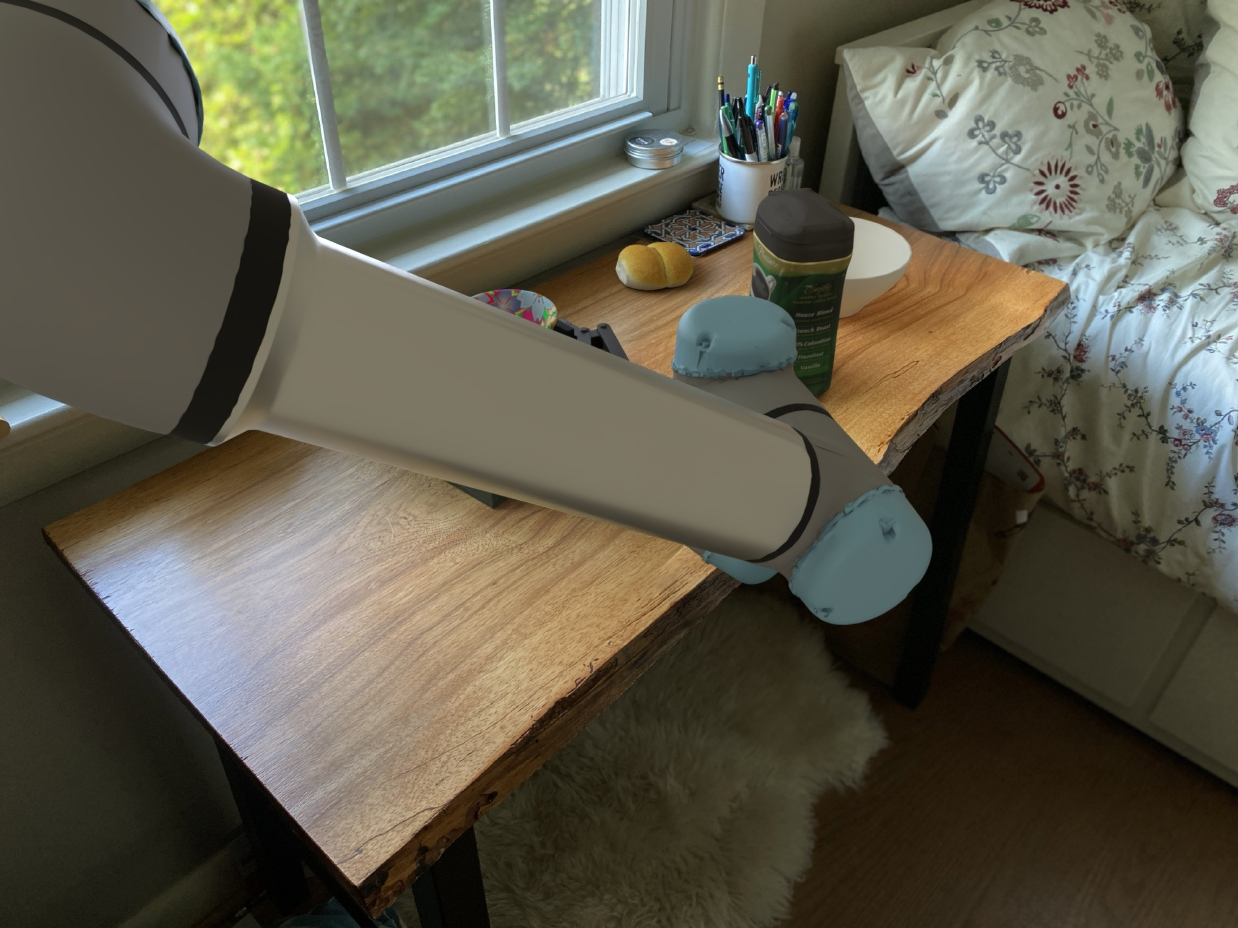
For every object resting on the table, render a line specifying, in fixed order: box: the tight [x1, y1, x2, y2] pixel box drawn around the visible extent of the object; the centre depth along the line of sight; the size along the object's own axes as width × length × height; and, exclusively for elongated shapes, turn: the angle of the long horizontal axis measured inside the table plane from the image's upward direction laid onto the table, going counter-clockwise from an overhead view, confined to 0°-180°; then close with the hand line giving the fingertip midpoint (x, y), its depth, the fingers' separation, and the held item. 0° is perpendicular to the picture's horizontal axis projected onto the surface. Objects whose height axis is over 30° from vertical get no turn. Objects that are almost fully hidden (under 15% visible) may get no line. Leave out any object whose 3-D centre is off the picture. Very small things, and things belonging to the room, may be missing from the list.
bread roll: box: [615, 241, 694, 291], centre depth 109 cm, size 8×9×4 cm
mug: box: [470, 288, 559, 330], centre depth 84 cm, size 12×9×11 cm
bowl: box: [839, 216, 913, 319], centre depth 103 cm, size 16×16×7 cm
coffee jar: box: [749, 187, 855, 398], centre depth 87 cm, size 10×8×19 cm
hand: (467, 342), depth 85 cm, fingers open, 13 cm apart
